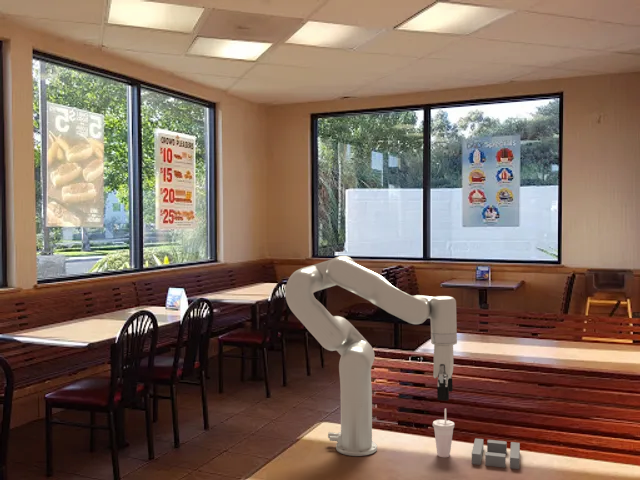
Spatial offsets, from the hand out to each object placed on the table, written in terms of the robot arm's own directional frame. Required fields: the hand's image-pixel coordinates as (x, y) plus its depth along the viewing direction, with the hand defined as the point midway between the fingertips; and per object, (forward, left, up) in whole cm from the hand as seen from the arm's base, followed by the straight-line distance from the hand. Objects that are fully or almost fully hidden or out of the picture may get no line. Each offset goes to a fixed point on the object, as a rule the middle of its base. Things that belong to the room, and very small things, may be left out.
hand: (445, 395), depth 184 cm
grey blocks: (+14, +2, -18) cm, 23 cm away
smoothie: (-1, 0, -18) cm, 18 cm away
